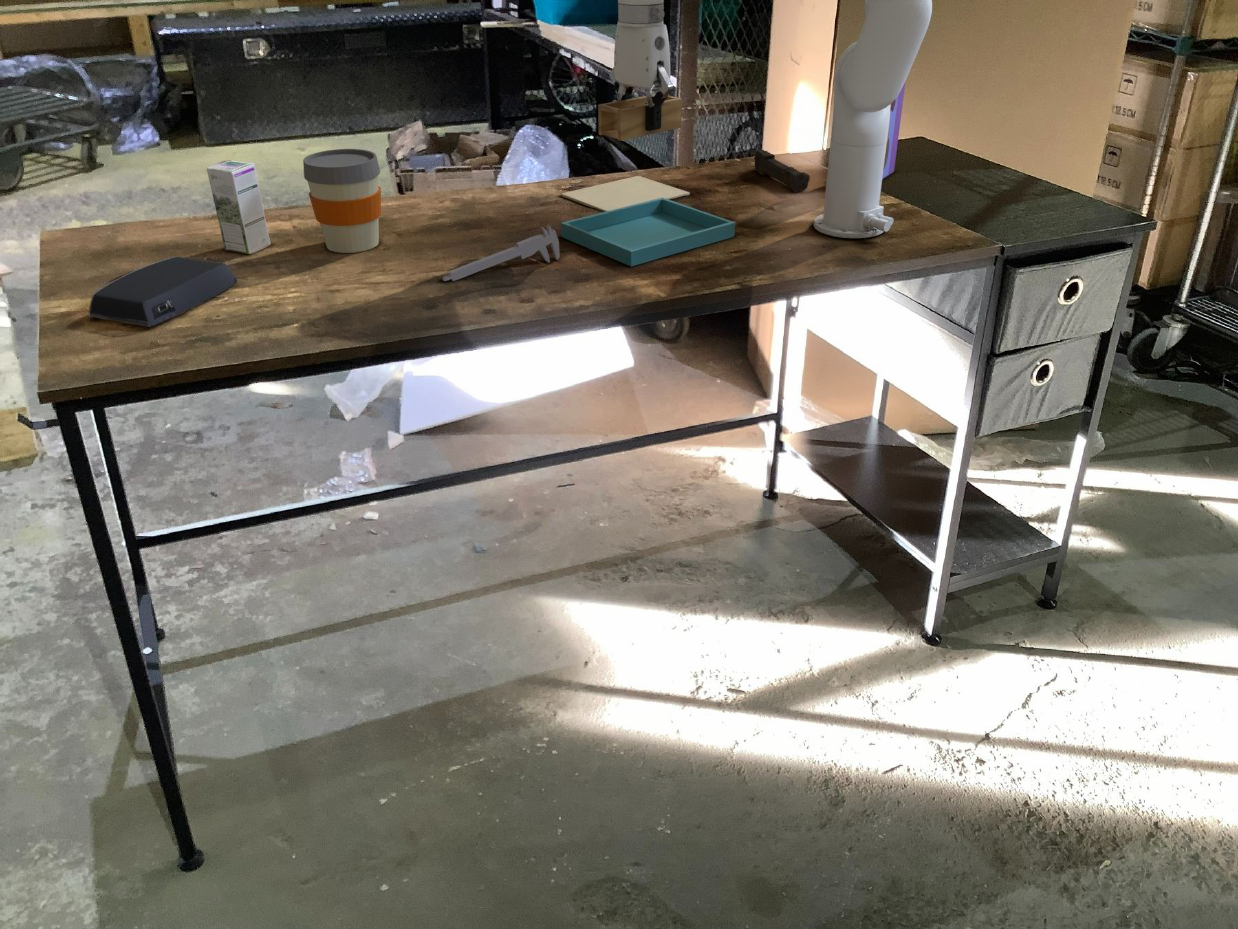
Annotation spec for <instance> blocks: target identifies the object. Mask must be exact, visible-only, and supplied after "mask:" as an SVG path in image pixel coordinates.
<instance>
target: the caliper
mask: <svg viewBox="0 0 1238 929" xmlns="http://www.w3.org/2000/svg"><path fill="white" fill-rule="evenodd" d="M540 228H541V232H542V234H541V233H539V234H535V235H533V236H531V237H527V238H525V239H523V240H520V241H518V242H516V243H515V245H514V246H512V247H509V248H506V249H504V250H501V251H499V252H496V253H493V254H491V255H487V256H485V257H482V258H480V259H477V260H475V261H472V262H470V263H467V264H464V265H462V266H458V267H456V268H454V269H450V270H449V271H448V274H446V275H444V276H442V278H441V280H442V281H443V282H447V281H452V282H455V281H458V280H460V279H463V278H465V277H468V276H471V275H473V274H476V273H478V272H481V271H483V270H486V269H489V268H491V267H493V266H497V265H499V264H502V263H504V262H507V261H510V260H512V259H515V258H518V257H519V258H521V259H522V260H525V259H526V258H528V257H532V256H533V255H535V254H536V252H539V254H540V256H541V257H542V258H543V260H544V261H545V262H547V263H551V260H550V254H549V251H548V249H547V246H548V245H550V248H551V251H552V254H553V258H554V259H555V260H556V261H558V260H560V253H561V252H560V241H559V238H558V237H559V236H558V235H557V232H556V230H555V229H552V226H551V225H550V224H547V225H546V229H545V228H544V227H543V226H541V227H540Z"/></svg>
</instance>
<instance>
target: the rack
mask: <svg viewBox="0 0 1238 929" xmlns="http://www.w3.org/2000/svg"><path fill="white" fill-rule="evenodd" d="M652 94H653V93H652ZM655 94H656V93H654V94H653V97H654V96H655ZM647 106H648V102H647V98H646V95H643V96H638V97H632V99H626V100H621V101H620V100H616V101H611V102H610V101H609V102H606V103H600V104H597V111H598V112H597V113H598V116H597V117H598V135H599V136H606V137H609V138H613V139H617V141H619V142H621V141H626V140H630V139H631V140H632V139H636V138H641V137H644V136H649V135H654V134H659V133H664V132H668V131H673V130H677V129H682V109H683V107H682V106H683V98H681V97H676V96H672V95H668V97H667V98H666V100H665V101H664V105H662V111H661V128H660V129H657V130H652V131H646V129H645V125H646V107H647Z"/></svg>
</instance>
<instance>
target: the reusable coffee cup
mask: <svg viewBox="0 0 1238 929" xmlns="http://www.w3.org/2000/svg"><path fill="white" fill-rule="evenodd" d="M302 165H303V178H304V180H305V181H307V184H308V188H309V193H308V196H309V200H310V203H311V204H310V205H311V208H312V209H313V214H314V218H315V220H316V221H317V222H318V223H319V226H320V229H321V233H322V236H323V239H324V242H325V246H326V249H328V250H329V251H331V252H335V253H342V254H352V253H360V252H365V251H368V250H372V249H374V248H375V247H377V246H378V245H379V243H380V242H379V241H380V240H379V239H380V237H379V233H380V232H379V230H380V229H379V228H380V227H379V225H380V224H379V221H380V220H379V219H380V217H381V215H382V189H381V186H379V176H380V174H381V170H380V169H381V168H380V165H379V161H378V156H377V154H376V153H375V152H374V151H371V150H368V149H360V148H337V149H336V148H335V149H328V150H322V151H319V152H318V151H317V152H313V153H311V154H308V155H307V156H305V157H304V158H303V161H302Z"/></svg>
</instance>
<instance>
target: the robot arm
mask: <svg viewBox="0 0 1238 929" xmlns="http://www.w3.org/2000/svg"><path fill="white" fill-rule="evenodd" d="M664 2H665V1H664V0H617V17H618V18H617V24H616V30H615V37H614V49H613V50H614V51H613V53H614V54H613V67H612V69H611V70H610V72H609V74H608V75H609V78H610V80H611V82H612V84H613V86H614V89H615V91H616V93H617V95H616V98H617V100H618V101H621V100H626V99H632V98H634V96H635V92H636V89H637V88H638V89H642V90H644V93H645V96H646V98H647V102H648V106H647V107H646V125H645V129H646V131H652V130H657V129H660V128H661V111H662V105H664V101H665V100H666V98H667V97H668V96H670V93H671V92H673V91H674V84H673V83H672V80H671V51H670V41H669V40H670V39H669V33H668V28H667V25H666V24H665V23H664V17H665V15H666V14H665V11H664ZM863 10H864V15H865V20H864V22H863V25H862V28H861V31H860V33H859V36H858V37H857V41H855V42H853V43H851V44H850V45H849V46H847V47H846V48H845V49H844V51H843V52H842V53H841V55H840V57H839V59H838V61H837V64H836V68H835V75H834V89H833V90H834V91H833V109H832V110H833V111H832V121H831V122H832V123H831V133H830V140H829V141H830V143H829V150H828V151H829V153H828V162H827V163H828V164H827V173H826V182H825V183H826V184H825V194H824V204H823V213H822V214H819V215H817V216H816V217H815V218H814V220H813V227H814V229H815V230H816V231H818V232H819V233H820V234H824V235H825V236H830V237H834V238H840V239H841V238H842V239H867V238H873V237H877V236H879V235H881V234H883V233H887V232H888V231H890V229H891V227H892V225H893V224H894V221H895V220H894V217H890V216H887V215H884V209H885V206H884V205H880V200H881V191H882V184H883V180H882V176H883V168H884V160H885V152H886V144H887V138H888V130H889V120H890V108H891V103H892V102H893V101H894V100H895V99H896V98H897V96H898V95H899V93H900V91H901V89H902V87H903V85H904V83H905V84H906V82H905V81H907V78H908V76H909V74H910V71H911V69H912V67H913V64H914V63H915V60H916V57H917V55H918V53H919V50H920V48H921V46H922V43H923V41H924V38H925V36H926V33H927V31H928V29H929V26H930V22H931V18H932V13H933V0H864V9H863ZM653 92H655V93H654V94H655V96H654V97H653Z"/></svg>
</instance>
